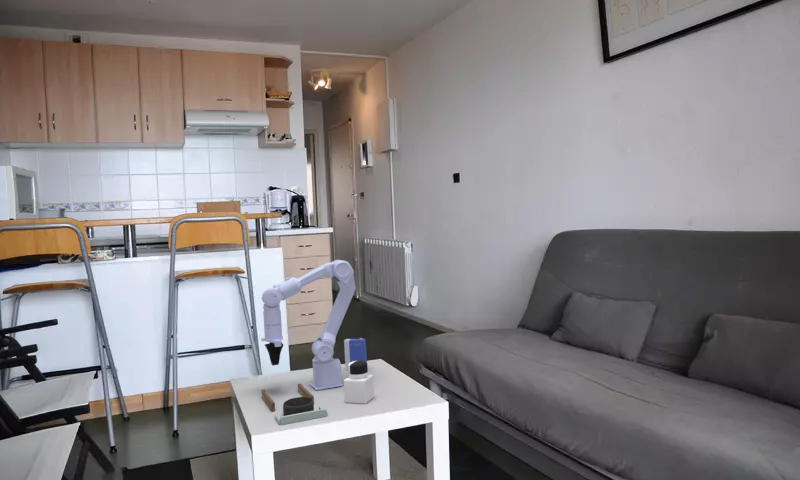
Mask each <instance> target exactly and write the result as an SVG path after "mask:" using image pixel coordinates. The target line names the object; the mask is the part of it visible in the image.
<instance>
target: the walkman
mask: <svg viewBox="0 0 800 480" xmlns="http://www.w3.org/2000/svg"><path fill="white" fill-rule="evenodd" d="M343 343H344V344H343V345H344V348H343V349H344V361H345V364H344V365H345V372H348V364H349V363H350V362H353V361H365V362H367V363H368V360H367V359H368V358H367V357H368V356H367V341H366V338H363V337H359V338H346V339H343Z"/></svg>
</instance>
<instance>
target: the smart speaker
mask: <svg viewBox="0 0 800 480" xmlns="http://www.w3.org/2000/svg"><path fill="white" fill-rule="evenodd" d="M314 405H315V401H314V402H313V400H312V399H310V398H307V397H303V396H300V397H299V396H298V397H294V398H292V397H291V398H289V399H287V400H285V401H284V402H283V404H282V413H283V416H287V415H292V414H298V413H303V412H309V411H314V410H315V407H314Z"/></svg>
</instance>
